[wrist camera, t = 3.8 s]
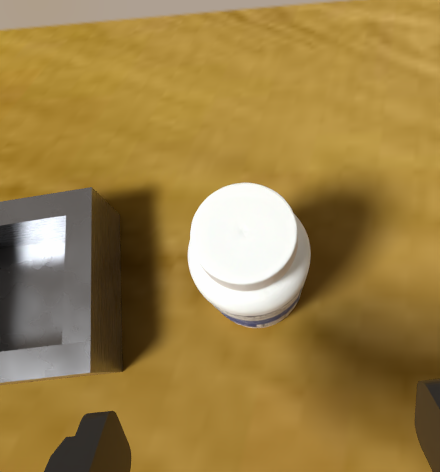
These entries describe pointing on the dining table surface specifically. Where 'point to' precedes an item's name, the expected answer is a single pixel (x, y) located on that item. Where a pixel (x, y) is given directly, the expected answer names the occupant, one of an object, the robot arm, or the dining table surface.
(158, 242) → the dining table surface
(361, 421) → the dining table surface
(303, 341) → the dining table surface
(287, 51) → the dining table surface
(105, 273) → the socket cup
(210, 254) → the pill bottle
